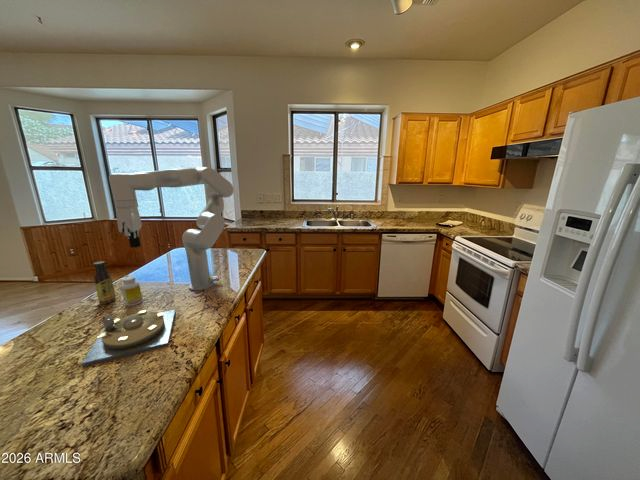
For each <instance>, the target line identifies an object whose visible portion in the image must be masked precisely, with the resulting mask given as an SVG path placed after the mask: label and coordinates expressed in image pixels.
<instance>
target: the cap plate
mask: <svg viewBox="0 0 640 480" xmlns="http://www.w3.org/2000/svg"><path fill="white" fill-rule="evenodd" d="M160 313H162V314H163V318H164V323H165V325H164V327H163V329H162V330H161V331H160V332H159V333H158V334H157V335H156V336H154V337H153V338H151V339H149V340H147V341H145V342H143V343H140V344H138V345H135V346H131V347H127V348H121V349H111V348H107V347H105V346H104V345H103V342H102V338H101V335H100V334H102V332H103V331H104V329H105V328H103V329H102V331H101V332H100V334H99V335H97V336H96V339H95V341H94V342H93V345H92V346H91V348H90V349H89V351H88V352H87V353H86V355H85V357H84V358H83V360H82V361H81V362H80V363H81V367H82V368H85V367H89V366H93V365H96V364H100V363H106V362H109V361H110V362H111V361H114V360H118V359H122V358H126V357H130V356H131V357H132V356H134V355H138V354H142V353H147V352H151V351H155V350H159V349H164V348H166V347H167V348H168V347H169V345H170V340H171V335H172V332H173V327H174V321H175V317H176V309H171V310H168V311H166V310H165V311H163V312H160Z"/></svg>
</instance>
